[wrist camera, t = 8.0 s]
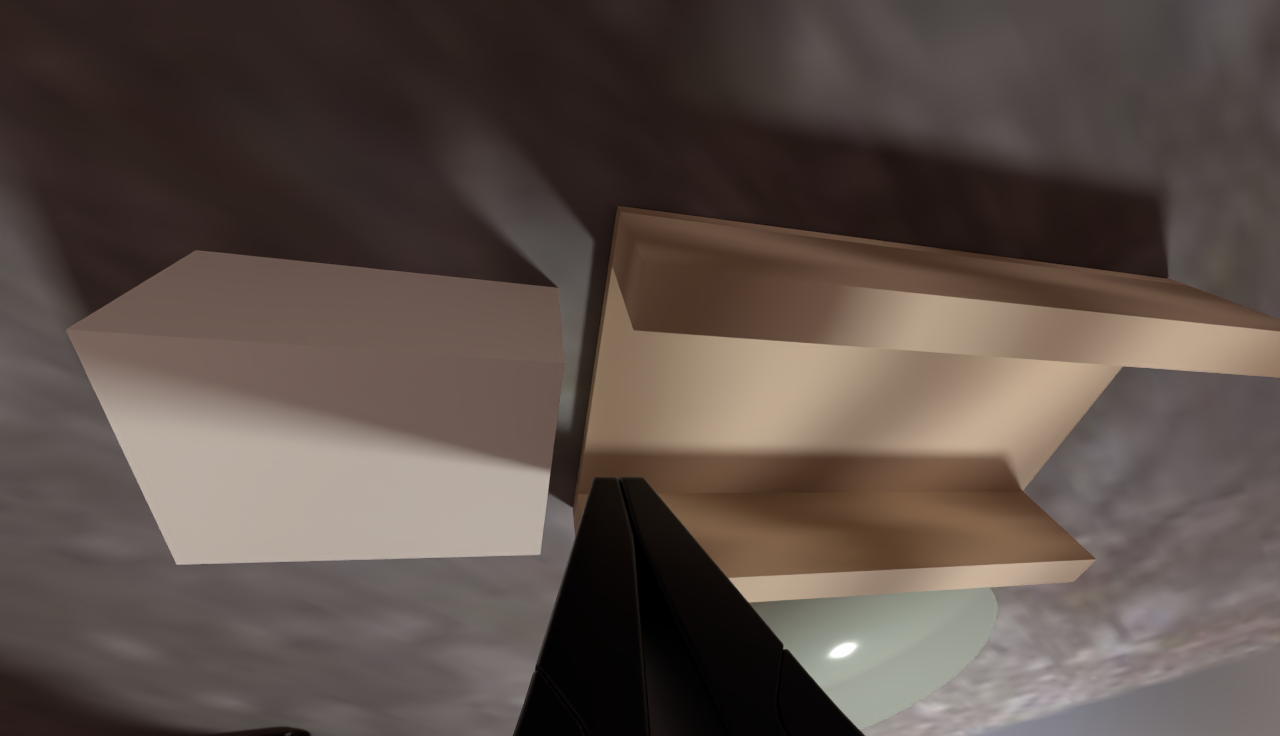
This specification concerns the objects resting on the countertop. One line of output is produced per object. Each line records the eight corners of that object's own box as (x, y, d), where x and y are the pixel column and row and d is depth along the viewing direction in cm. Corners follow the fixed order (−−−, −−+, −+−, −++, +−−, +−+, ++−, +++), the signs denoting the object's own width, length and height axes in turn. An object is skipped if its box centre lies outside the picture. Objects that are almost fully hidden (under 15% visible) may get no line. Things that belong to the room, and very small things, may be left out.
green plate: (626, 752, 22) (628, 773, 22) (697, 552, 15) (704, 575, 14) (889, 717, 26) (898, 735, 25) (1052, 539, 18) (1071, 558, 18)
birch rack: (573, 509, 13) (581, 613, 11) (616, 205, 9) (645, 264, 7) (995, 503, 16) (1073, 581, 14) (1170, 279, 12) (1323, 336, 10)
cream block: (258, 444, 11) (176, 564, 8) (203, 245, 8) (65, 329, 6) (539, 450, 12) (539, 554, 10) (557, 282, 10) (564, 362, 7)
